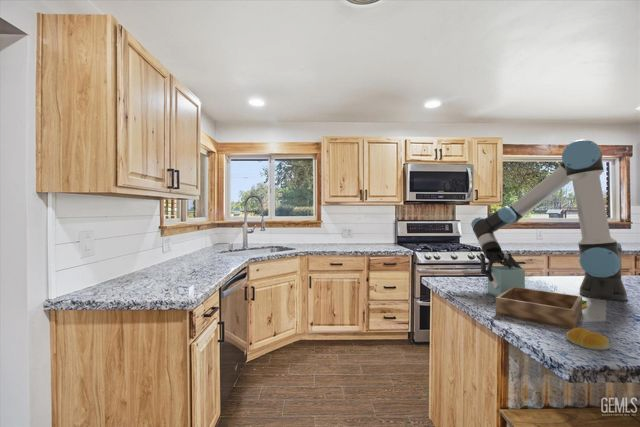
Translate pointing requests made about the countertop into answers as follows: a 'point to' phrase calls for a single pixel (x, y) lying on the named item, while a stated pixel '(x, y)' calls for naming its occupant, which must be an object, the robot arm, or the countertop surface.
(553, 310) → the big walnut crate
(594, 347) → the bread roll
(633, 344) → the countertop surface
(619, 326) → the countertop surface
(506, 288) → the small teal crate
